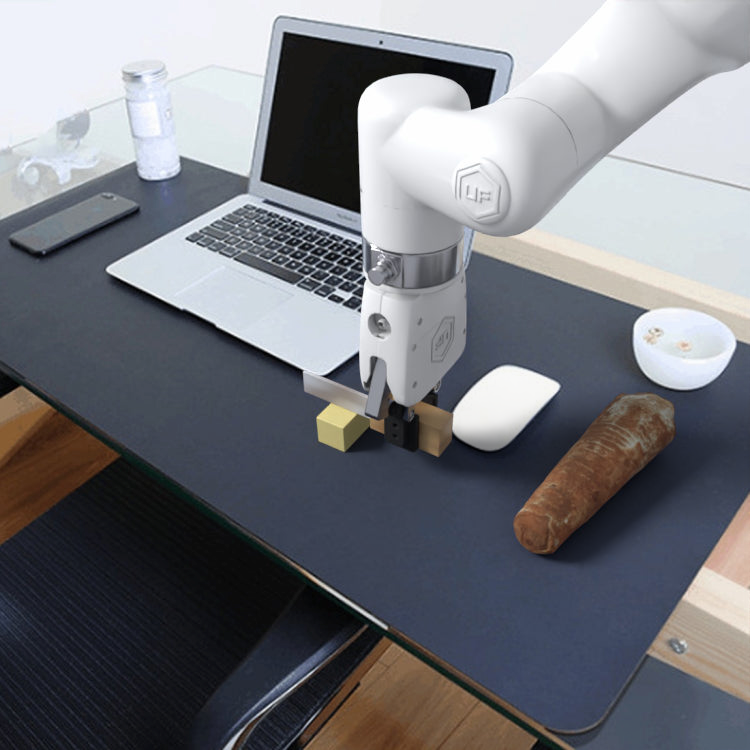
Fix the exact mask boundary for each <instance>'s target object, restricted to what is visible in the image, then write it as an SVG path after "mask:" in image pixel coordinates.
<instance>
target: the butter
mask: <svg viewBox="0 0 750 750" xmlns="http://www.w3.org/2000/svg"><path fill="white" fill-rule="evenodd" d="M316 427H317V438H318V442H320V443H322V444H324V445H326V446H329V447H331V448H333V449H336V450H338V451H340V452H343V453H346V452H347V451H348V450H349V449H350V448H351V447H352V445H353V444H354V443H355V442H356V441H357V440H358V439H359V438H360V437H361V436H362V435H363V434H364V432H365V431H367V430H368V428H370V419H369V418H366V417H364V416H361V415H359V414H357V413H354V412H352V411H350V410H347V409H345V408H342V407H340V406H338V405H335V404H333V403H331V402H330V403H329V405H327V406H326V407H325V408H324V409H323V410H322V411H321V412H320V413H319V414H318V415H317V416H316Z"/></svg>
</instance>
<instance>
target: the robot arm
mask: <svg viewBox="0 0 750 750" xmlns="http://www.w3.org/2000/svg"><path fill="white" fill-rule="evenodd" d="M748 63H750V0H606V1H605V2H604V3H603V4H602V5H601V6H600V8H598V10H596V11H595V13H594V14H593V15H591V16H590V18H589V19H588V20H587V21H586V22H585V23H583V25H582V26H581V27H580V28H579V29H578V30H577V31H576V32H575V33H574V34H573V35H572V36H571V37H570V38H568V40H567V41H566V42H564V44H563V45H562V46H561V47H560V48H559V49H558V50H556V52H555V53H554V54H553V55H551V57H549V59H548V60H547V61H545V62H544V63H543V64H542V65H541V66H540V67H539V68H538V69H536V71H535V72H534V73H532V75H530V76H529V77H527V79H525V80H524V81H523V82H521V83H519V84H518V85H517V86H515V87H514V88H512V89H511V90H509V91H507V92H506V93H505V94H504V95H503V96H501V97H499V98H498V99H497V100H495V101H494V102H492V103H490V104H486V105H483V106H480V107H477V108H473V109H472V108H471V102H470V97H469V95H468V93H467V92H466V90H465V89H464V88H463V87H462V86H461V85H460V84H458V83H457V82H456V81H455V80H453V79H451V78H447V77H444V76H440V75H436V74H429V73H402V74H395V75H391V76H387V77H383V78H379V79H378V80H376V81H374V82H372V83H371V84H370V85H368V86H367V87H366V88H365V90H364V91H363V93H362V94H361V96H360V99H359V102H358V107H357V132H358V134H357V135H358V137H357V138H358V164H359V193H360V194H359V195H360V197H359V198H360V222H361V223H360V225H361V227H360V229H361V254H362V256H361V259H362V273H363V276H364V277H365V282H364V284H363V293H362V299H361V306H360V307H361V309H360V320H359V339H358V340H359V341H358V343H359V344H358V345H359V347H358V349H359V350H358V354H359V355H358V356H359V373H360V381H361V385H362V388H363V390H364V391H365V392H368V394H367V395H368V399H367V403H366V408H365V416H368V417H370V418H373V419H375V420H378V421H380V420H382V419H384V434H383V438H384V440H385V442H387V443H389V444H391V445H393V446H396V447H398V448H401V449H403V450H406V451H408V452H410V453H416V452H417V451H418V448H419V415H418V414H416V413H415V404H417V403H418V402H419V401H422V402H424V403H427V404H429V405H432V406H435V407H437V408H439V407H438V406H439V394H438V393H437V392H439V390H440V388H441V385H442V379H443V378H444V377H445V375H446V374H447V373H448V372H449V371H450V369H451V368H452V367H453V366H454V365H455V364H456V362H457V361H458V360H459V358H461V356H462V354H463V353H464V350H465V348H466V344H467V321H468V320H467V316H468V315H467V313H468V312H467V310H468V309H467V308H468V307H467V302H468V301H467V279H466V270H465V262H464V249H465V248H464V247H465V228H468V229H470V230H472V231H475V232H477V233H480V234H482V235H486V236H491V237H496V238H497V237H499V238H508V237H514V236H517V235H521V234H523V233H526V232H527V231H529V230H531V229H532V228H533V227H535V226H536V225H537V224H539V223H540V222H541V221H542V220H543V219H544V218H545V217H546V216H547V215H548V214H549V213H550V212H551V211H552V210H553V209H554V208H555V207H556V206H557V205H558V204H559V203H560V202H561V201H562V200H563V198H565V196H566V195H567V194H568V192H570V191H571V189H573V187H575V186H576V184H577V183H579V182H580V181H581V180H582V179H583V178H584V177H585V176H586V175H587V174H588V173H589V172H590V171H591V170H592V169H594V167H596V166H597V164H599V163H600V162H601V161H602V160H603V159H605V158H606V157H607V156H608V155H609V154H611V152H612V151H614V150H615V149H616V148H617V147H619V146H620V145H621V144H622V143H624V141H626V140H627V139H628V138H630V137H631V136H632V135H633V134H635V133H636V132H637V131H638V130H639V129H640V128H643V126H645V124H647V123H648V122H649V121H651V120H652V119H653V118H654V117H655V116H657V115H658V114H659V113H660V112H661V111H664V110H665V108H667V107H668V106H669V105H671V104H672V103H673V102H675V101H676V100H677V99H679V98H680V97H681V96H683V95H684V94H686V93H687V92H688V91H690V90H691V89H692V88H695V86H697V85H698V84H700V83H702V82H703V81H705V80H707V79H709V78H711V77H713V76H716V75H719V74H723V73H729V72H733V71H736V70H739V69H741V68H742V67H744V66H745V65H747V64H748ZM393 397H394V399H395V401H394V400H393Z"/></svg>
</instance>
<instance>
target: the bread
mask: <svg viewBox="0 0 750 750" xmlns="http://www.w3.org/2000/svg"><path fill="white" fill-rule="evenodd" d="M675 411H676V408H675V404H674V403H673V402H672V401H670V400H668V399H667V398H666V397H662V396H660V395H658V394H655V393H654V392H651V391H646V392H635V393H633V394H628V393H625V392H621V393H619V394H617V395H616V396H615V397H614V399H612V401H611V402H610V403H608V404H607V406H606V407H605V408H604V409H603V410H602V411H601V412H600V414H599V415H597V417H596V418H595V419H594V421H593V422H592V423H591V424H590V425H589V426H588V427H587V429H586V430H585V432H584V433H583V434H582V435H581V436H580V438H579V439H578V440H577V441H576V442H575V443H574V444H573V445H572V446H571V447H570V448H569V450H568V451H567V452H566V453H565V454H564V456H562V458H561V459H560V460H559V461H558V462H557V464H556V465H555V466H554V467H553V468H552V470H551V471H550V472H549V473H548V475H547V476H546V477H545V479H544V480H543V482H542V483H540V485H539V486H538V487H537V488H536V489H535V490H534V492H533V493H532V495H531V496H530V497H529V498H528V500H527V501H526V502H525V504H524V505H523V507H522V508H521V509H520V510H519V511H518V512H517V513H516V514H515V516H514V518H513V523H512V526H513V530H514V534H515V537H516V539H517V541H518V542H519V544H520V545H521V546H522V547H524V549H525V550H527V551H528V552H530V553H532V554H536V555H537V554H538V555H552V554H554V553H555V552H556V551H557V550H558V549H559V548H560V547H561V545H562V544H563V543H564V542H565V541H567V539H568V538H569V537H571V535H572V534H573V533H574V532H575V531H577V530H578V529H579V528H580V527H582V525H584V524H585V523H587V522H588V521H589V520H591V518H592V517H593V516H594V515H595V514H596V513H598V511H599V510H600V509H601V508H602V507H603V506H604V505H606V503H607V502H608V501H609V500H610V499H611V498H612V497H614V496H615V495H616V494H617V493H618V492H619V491H620V490H621V489H622V487H624V485H626V483H628V482H629V481H630V480H631V479H632V478H633V477H634V476H636V474H638V473H639V472H640V471H642V470H643V469H644V468H645V467H646V466H647V465H648V464H649V463H650V462H651V461H652V460H653V459H654V458H655V457H656V456H658V455H659V454H660V453H661V452H662V451H663V450H664V449H665V448H666V447H668V445H669V444H670V443H671V442H672V441H673V440H674V439H675V438H676V435H677V426H676V425H677V424H676V422H675V418H674V417H675Z"/></svg>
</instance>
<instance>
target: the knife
mask: <svg viewBox="0 0 750 750" xmlns="http://www.w3.org/2000/svg"><path fill="white" fill-rule="evenodd" d="M302 377H303V379H302V380H303V391H304V392H305V393H307V394H309V395H312V396H314V397H317V398H319V399H321V400H324V401H326V402H328V403H330V404H331V403H333V404H335V405H338V406H340V407H342V408H345V409H347V410H350V411H352V412H354V413H357V414H359V415H361V416H364V417H366V418H369V419H370V426H369V428H370V429H371V430H374V431H376V432H378V433H381V434H383V435H384V419H382V420H380V421H378V420H375V419H373V418H370V417H368V416H365V408H366V403H367V399H368V394H365V393H363V392H361V391H358V390H356V389H354V388H352V387H350V386H349V387H348V386H346V385H344V384H341V383H339V382H336V381H334V380H331V379H329V378H327V377H324V376H322V375H319V374H317V373H314V372H312V371H309V370H308V369H304V370H303V371H302ZM393 400H394V401H395V399H394V397H393ZM415 413H416V414H418V415H419V448H418V449H419V450H421V451H423V452H426V453H428V454H430V455H432V456H435V457H437V458H439V457H440V456H441V455H442V454H443V452H444V451H445V450H446V448H447V447H448V446H449V445H450V443H451V442H452V441H453V440H452V438H453V426H454V413H452V412H450V411H446V410H444V409H442V408H439V407H435V406H432V405H429V404H427V403H424V402H422V401H419V402H418V403H417V404H415ZM418 449H417V450H418Z"/></svg>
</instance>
